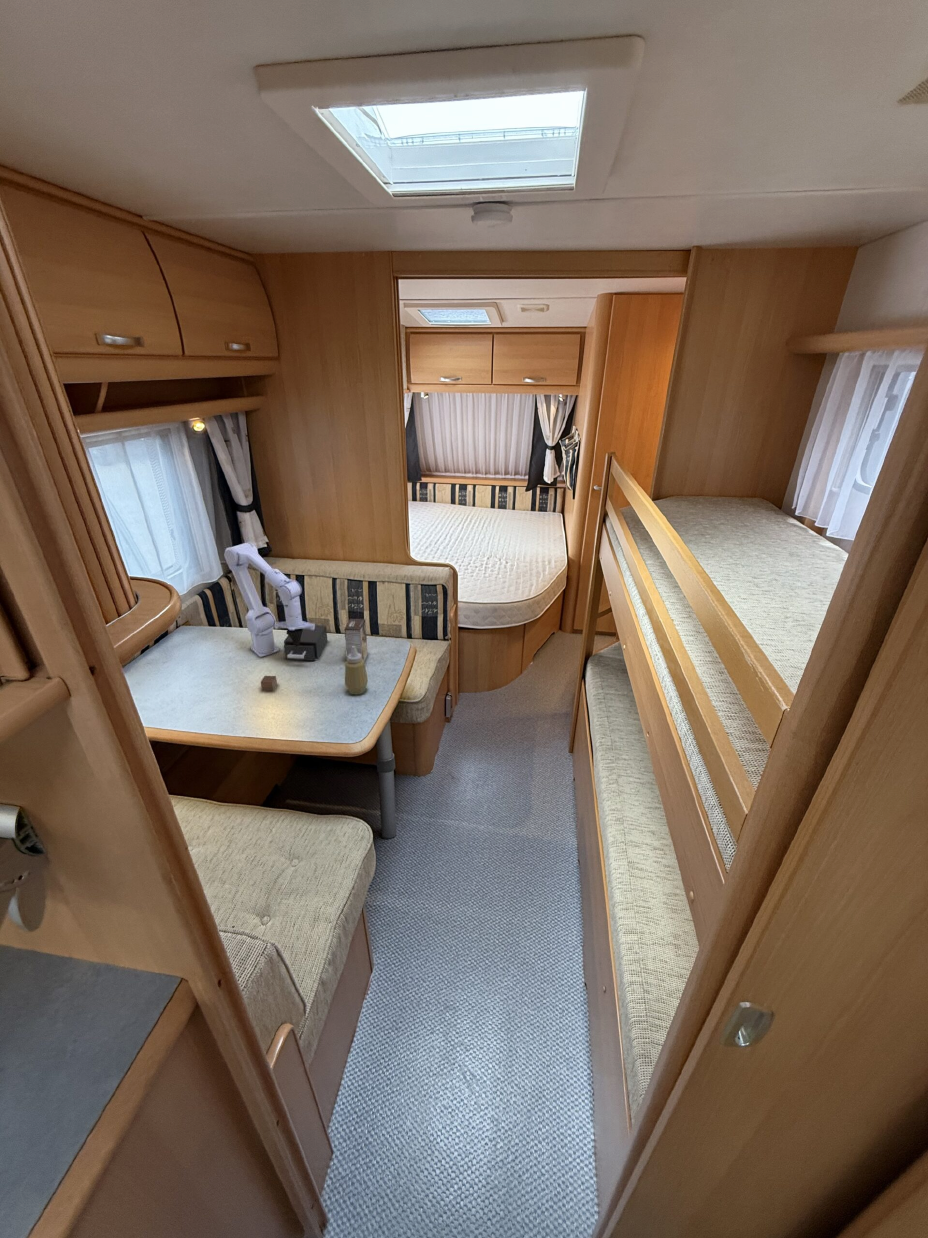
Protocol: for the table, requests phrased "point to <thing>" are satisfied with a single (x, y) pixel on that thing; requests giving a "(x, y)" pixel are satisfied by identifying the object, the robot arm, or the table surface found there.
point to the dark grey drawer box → (312, 638)
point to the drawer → (299, 651)
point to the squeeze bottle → (355, 673)
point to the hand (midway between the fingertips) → (297, 645)
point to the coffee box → (356, 637)
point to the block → (269, 683)
